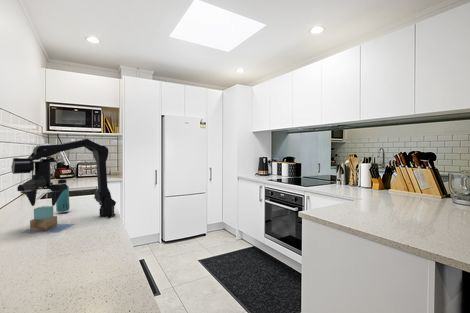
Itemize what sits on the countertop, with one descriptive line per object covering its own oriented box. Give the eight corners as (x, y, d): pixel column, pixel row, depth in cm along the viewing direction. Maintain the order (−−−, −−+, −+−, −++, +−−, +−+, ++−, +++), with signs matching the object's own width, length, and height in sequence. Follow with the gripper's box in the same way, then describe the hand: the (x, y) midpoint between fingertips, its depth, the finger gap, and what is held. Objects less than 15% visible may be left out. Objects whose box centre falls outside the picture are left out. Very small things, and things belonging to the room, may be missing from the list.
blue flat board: (75, 225, 117) (75, 223, 117) (58, 233, 105) (58, 232, 105) (42, 225, 116) (42, 224, 116) (21, 234, 104) (21, 232, 104)
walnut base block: (57, 226, 113) (57, 216, 113) (46, 231, 106) (45, 220, 106) (42, 226, 113) (42, 216, 113) (30, 231, 106) (29, 220, 106)
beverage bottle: (62, 214, 135) (61, 180, 134) (53, 214, 136) (52, 179, 136) (72, 211, 141) (71, 178, 141) (63, 211, 143) (62, 178, 142)
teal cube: (53, 216, 112) (53, 206, 112) (45, 219, 107) (45, 208, 107) (42, 216, 112) (42, 206, 112) (34, 219, 107) (33, 208, 107)
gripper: (5, 173, 100) (6, 210, 101) (50, 174, 101) (50, 210, 101) (27, 171, 111) (28, 204, 112) (67, 171, 112) (68, 204, 112)
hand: (43, 205), depth 109 cm, fingers open, 9 cm apart
